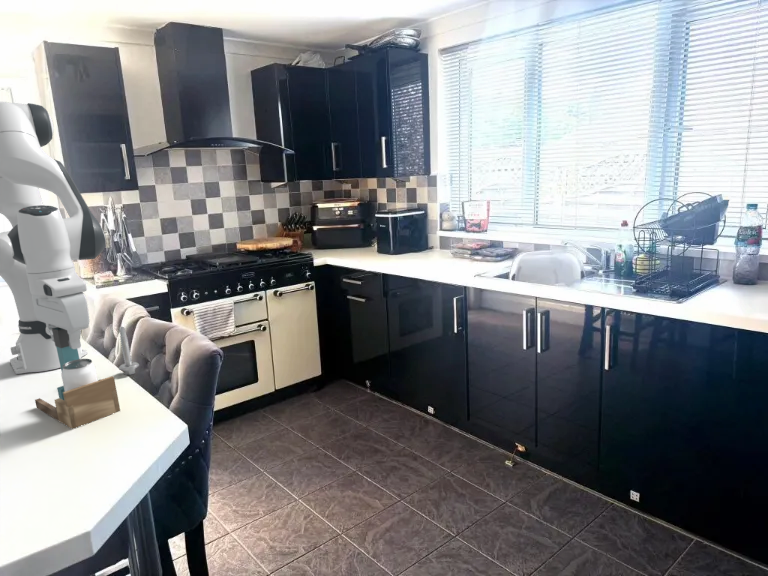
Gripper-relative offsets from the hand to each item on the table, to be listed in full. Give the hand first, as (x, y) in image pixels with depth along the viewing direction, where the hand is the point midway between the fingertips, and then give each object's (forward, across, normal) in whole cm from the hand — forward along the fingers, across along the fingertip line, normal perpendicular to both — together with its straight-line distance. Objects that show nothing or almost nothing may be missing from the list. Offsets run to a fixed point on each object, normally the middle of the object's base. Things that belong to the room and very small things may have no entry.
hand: (66, 344), depth 117 cm
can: (+16, +4, 0) cm, 16 cm away
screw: (+16, -13, +18) cm, 27 cm away
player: (+16, 0, 0) cm, 16 cm away
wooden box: (+16, -1, 0) cm, 16 cm away
